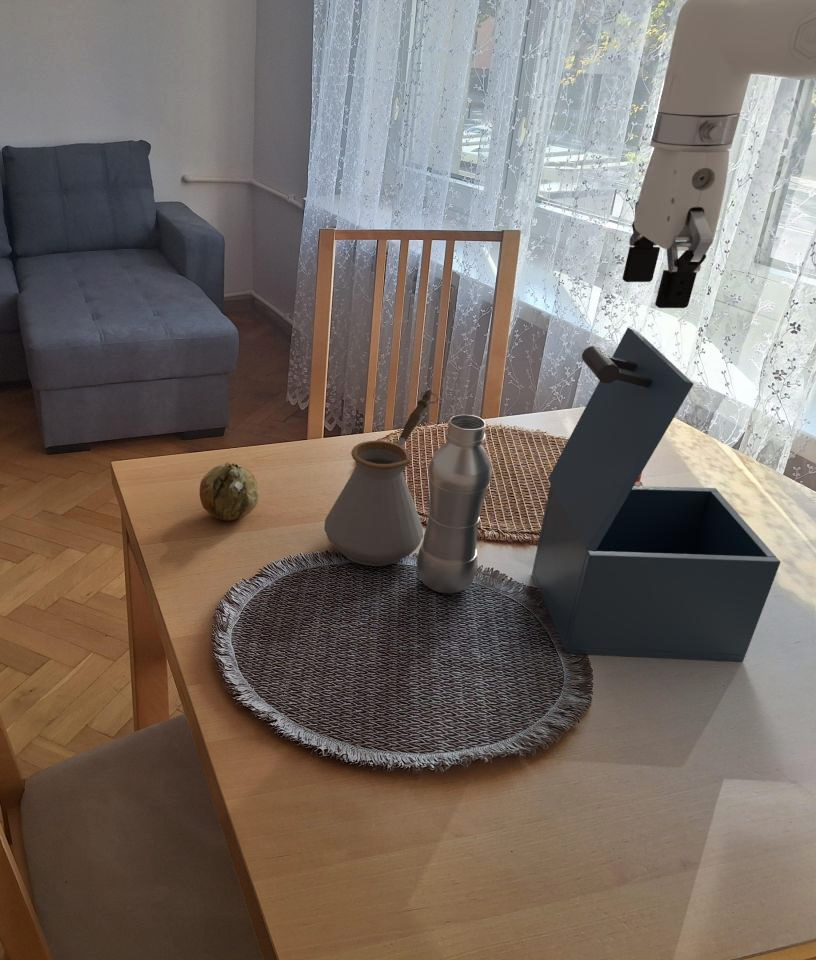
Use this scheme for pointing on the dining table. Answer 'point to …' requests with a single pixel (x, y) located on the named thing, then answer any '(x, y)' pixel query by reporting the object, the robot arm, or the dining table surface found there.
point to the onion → (229, 492)
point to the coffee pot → (378, 502)
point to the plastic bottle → (455, 507)
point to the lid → (616, 432)
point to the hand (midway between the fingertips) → (653, 293)
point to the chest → (656, 578)
